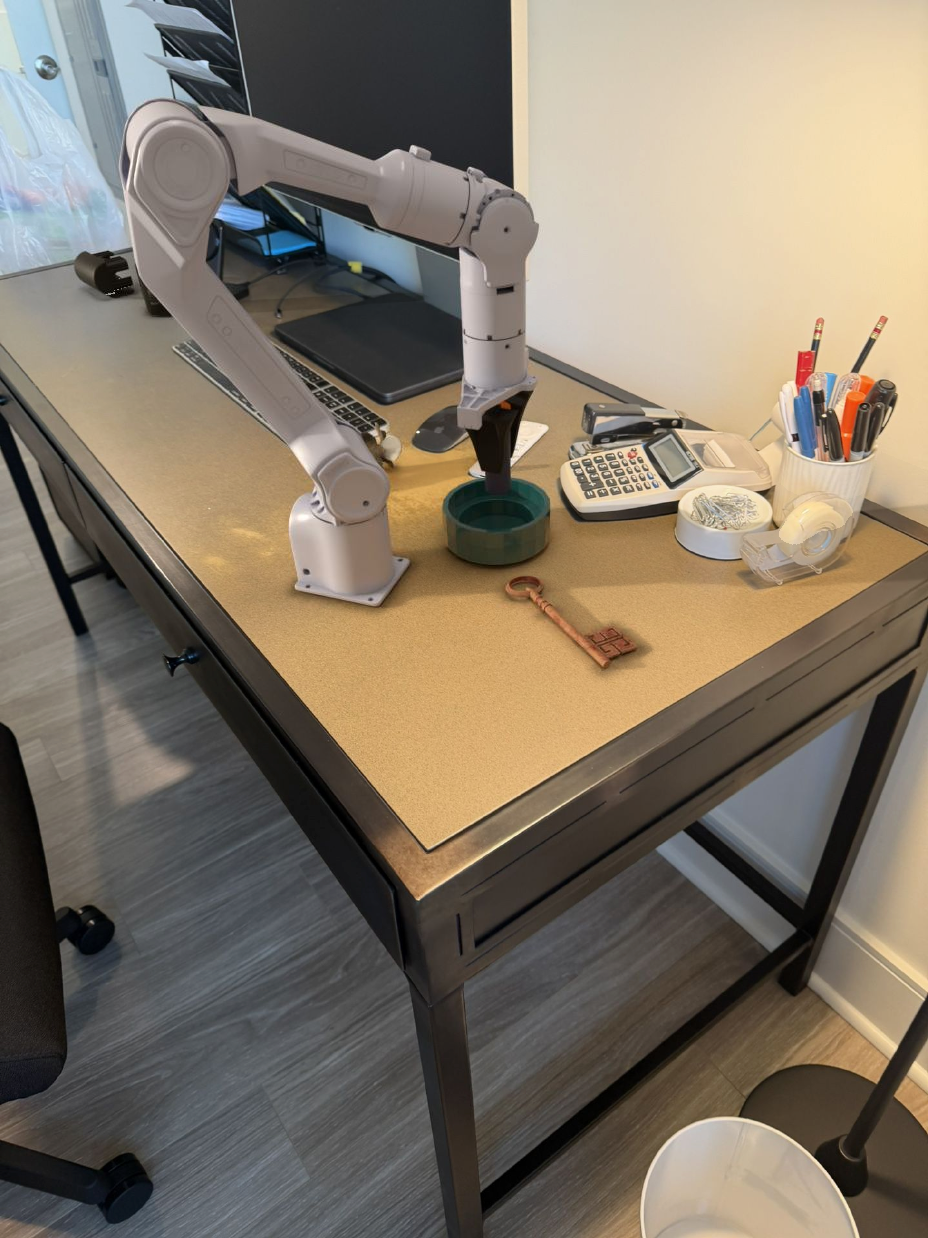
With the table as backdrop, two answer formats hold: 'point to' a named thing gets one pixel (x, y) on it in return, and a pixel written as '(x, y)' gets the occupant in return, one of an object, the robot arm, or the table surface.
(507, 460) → the glue stick
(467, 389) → the robot arm
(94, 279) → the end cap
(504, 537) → the bowl
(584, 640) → the key
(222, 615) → the table surface
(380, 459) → the eagle figurine
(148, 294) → the supplement bottle
